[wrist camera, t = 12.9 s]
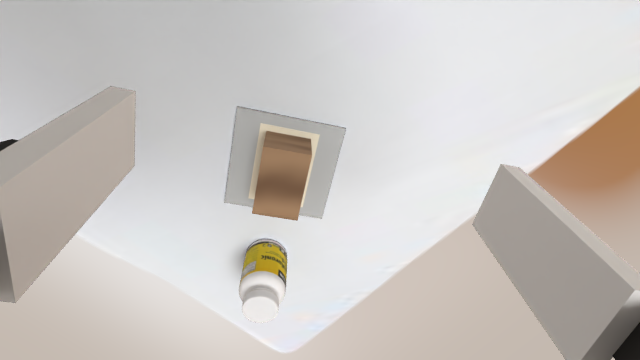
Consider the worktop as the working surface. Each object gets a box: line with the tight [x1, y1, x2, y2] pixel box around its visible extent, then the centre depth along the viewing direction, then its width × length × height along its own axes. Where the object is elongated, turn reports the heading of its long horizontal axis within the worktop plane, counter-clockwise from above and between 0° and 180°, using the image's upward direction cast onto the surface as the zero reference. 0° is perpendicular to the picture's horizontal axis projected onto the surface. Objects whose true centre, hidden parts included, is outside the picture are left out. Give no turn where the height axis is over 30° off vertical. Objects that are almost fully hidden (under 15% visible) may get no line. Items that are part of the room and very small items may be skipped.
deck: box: [252, 131, 312, 220], centre depth 43 cm, size 8×5×4 cm, turn 168°
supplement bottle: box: [239, 239, 287, 323], centre depth 47 cm, size 5×5×10 cm
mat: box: [224, 107, 346, 219], centre depth 46 cm, size 12×12×1 cm
